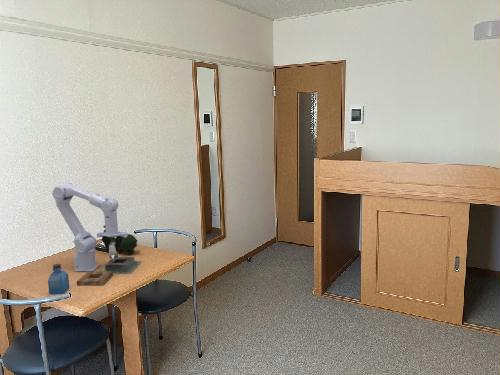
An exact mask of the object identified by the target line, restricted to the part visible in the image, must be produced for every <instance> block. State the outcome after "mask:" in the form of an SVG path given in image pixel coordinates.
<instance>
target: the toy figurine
mask: <svg viewBox="0 0 500 375" xmlns="http://www.w3.org/2000/svg"><path fill="white" fill-rule="evenodd" d="M102 227H103V228H104V230H103V232H106V230H105V224H104V225H103V226H102ZM127 235H128V236H127V237H123V239H122V241H121V245H120V251H119V252H118V254H121V253H122V252H126V254H127V255H128V256H129V255H132V254H134V253H135V249H136V248H137V246H138V239H137V238H136V237H135V236H134V235H133V234H130V233H127ZM115 238H116V237H110V243H112V242H115Z"/></svg>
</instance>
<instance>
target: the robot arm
mask: <svg viewBox="0 0 500 375" xmlns="http://www.w3.org/2000/svg"><path fill="white" fill-rule="evenodd" d="M51 195H52V197H53V198H54V200H55V204H56V207H57V209H58V211H59V213H60V215H61V216H62V217H63V219H64V221H65V223H66V224H67V226H68V228H69V230H70V231H71V233H72V235H73V236H74V238H73V244H74V248H75V253H74V254H73V262H74V270H73V271H74V272H88V271H95V270H96V269H97V268H98V267H99V266H100V264H97V263H96V261H97V260H96V247H97V245H98V241H97V238H101V240H100V241H101V242H102V243H103V245H104V246H105V248H106V252H107V253H109V246H108V244H109V243H110V237H115V243H116V251H117V252H119V251H120V245H121V241H122V239H123V237H127V236H128V235H127V234H128V232H122V231H119V229H118V228H119V227H118V215H117V211H118V209H119V202H118V200H116V199H115V198H109V197H106V196H104V195H101V194H100V193H99V192H97V193H90V192H89V191H86V190H85V189H83V188H80V187H78V186H77V185H76V184H73V183H71V182H68V183H65V184H62V185H56V186H54V188H53V190H52V194H51ZM74 196H75V197H78V198H80V199H84V200H86V201H88V202H89V204H90V205H92V206H93V207H96V208H99V209H101V211H102V212H103V215H104V225H105V228H104V230H106V232H104V231H101V232H97V233H96V237H94V236H93V235H92V233H91V232H89V231H87V230H85V228H84V226H83V225H82V223H81V221H80V219H79V218H78V216H77V215H76V213H75V211H74V209H73V207H72V206H71V204H70V203H71V200H72V199H73V197H74Z"/></svg>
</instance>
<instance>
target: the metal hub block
mask: <svg viewBox="0 0 500 375" xmlns="http://www.w3.org/2000/svg"><path fill="white" fill-rule="evenodd" d="M141 263H142V261H141V260H135V256H123V257H122V256H120V257H119V256H118V257H117V258H114V259H109V261H108V262H106V263H105V264H104V267H103V268H102V269H101V270H100V271H113V275H116V274H117V275H130V274H132V273H133V272H134V271H135V270H136V268H138V266H140V264H141Z"/></svg>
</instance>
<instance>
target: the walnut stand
mask: <svg viewBox="0 0 500 375" xmlns="http://www.w3.org/2000/svg"><path fill="white" fill-rule="evenodd" d="M113 276H114V274H113V271H101V270H99V271H98V270H97V271H95V270H94V271H86V273H85V274H83V275H82V276H81V277H80V278H79V279H77V280H76V285H77V286H105V284H107V282H108V281H109V280H110V279H111V278H112V277H113ZM91 278H92V279H91Z"/></svg>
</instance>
